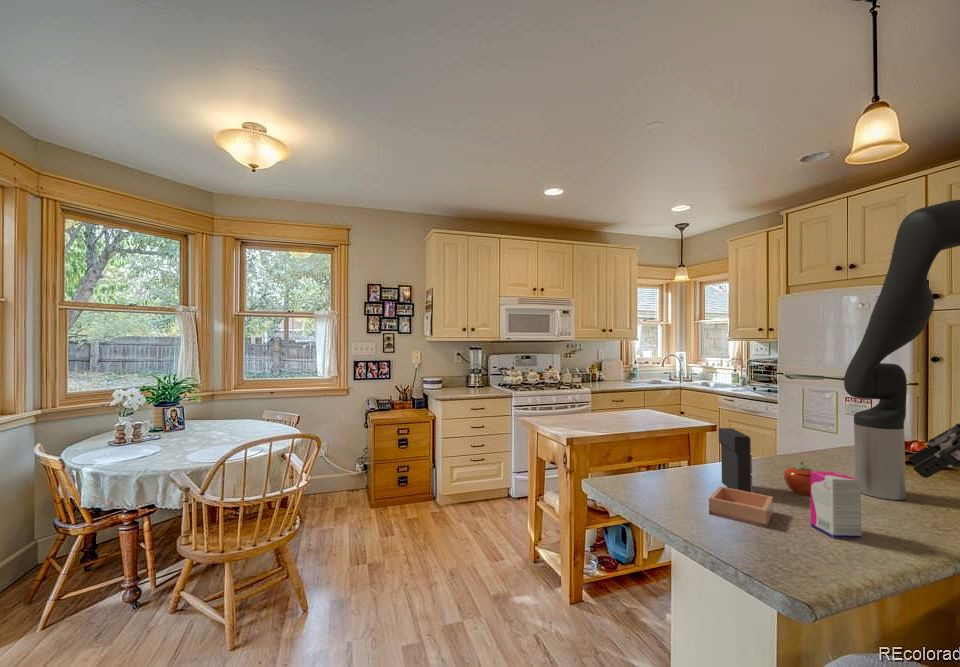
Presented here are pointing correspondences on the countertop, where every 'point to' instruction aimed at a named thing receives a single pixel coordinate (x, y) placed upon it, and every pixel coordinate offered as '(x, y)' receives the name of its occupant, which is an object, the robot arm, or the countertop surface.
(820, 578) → the countertop surface
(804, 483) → the tomato
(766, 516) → the dish
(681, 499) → the countertop surface
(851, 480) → the supplement box
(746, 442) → the calculator
